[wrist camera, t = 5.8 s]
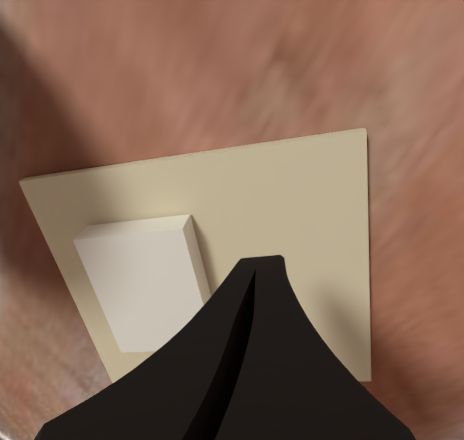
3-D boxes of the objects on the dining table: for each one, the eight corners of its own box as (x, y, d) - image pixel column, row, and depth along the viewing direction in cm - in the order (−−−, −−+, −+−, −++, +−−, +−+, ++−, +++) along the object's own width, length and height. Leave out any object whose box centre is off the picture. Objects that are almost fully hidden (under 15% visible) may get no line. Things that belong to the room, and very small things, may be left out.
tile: (182, 228, 17) (72, 240, 18) (215, 349, 21) (120, 352, 22) (190, 212, 19) (89, 224, 20) (220, 327, 22) (131, 331, 23)
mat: (364, 127, 16) (366, 130, 16) (369, 373, 23) (371, 381, 23) (25, 177, 20) (18, 181, 19) (116, 377, 27) (113, 384, 26)
